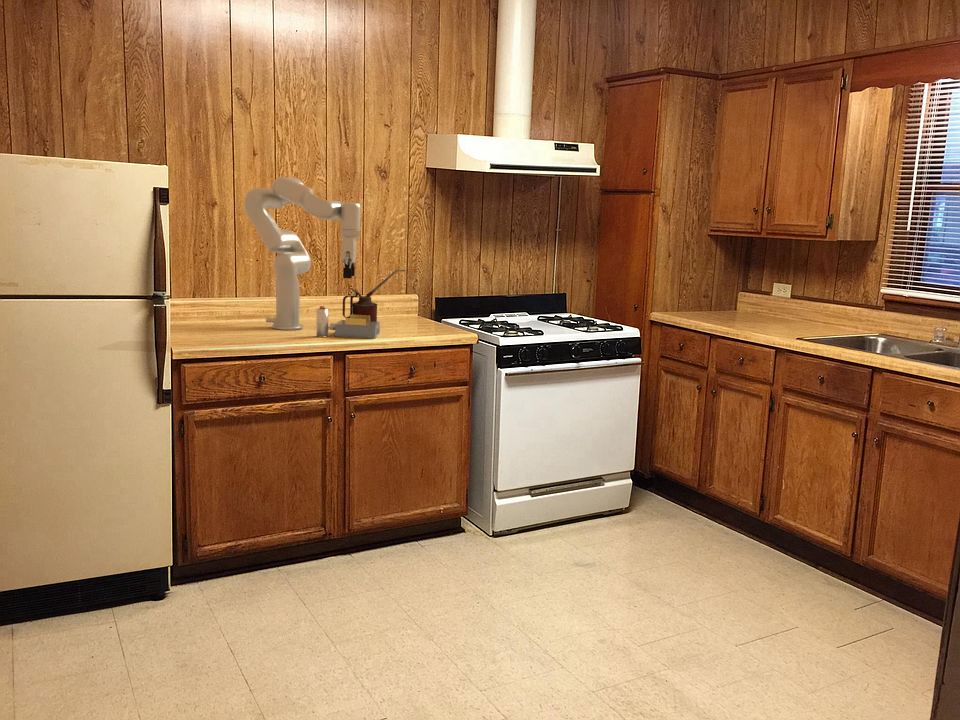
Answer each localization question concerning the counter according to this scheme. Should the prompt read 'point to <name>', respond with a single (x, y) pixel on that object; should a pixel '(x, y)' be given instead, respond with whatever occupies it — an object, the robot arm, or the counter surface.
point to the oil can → (364, 303)
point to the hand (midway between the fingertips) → (348, 277)
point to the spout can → (322, 321)
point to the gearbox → (356, 327)
